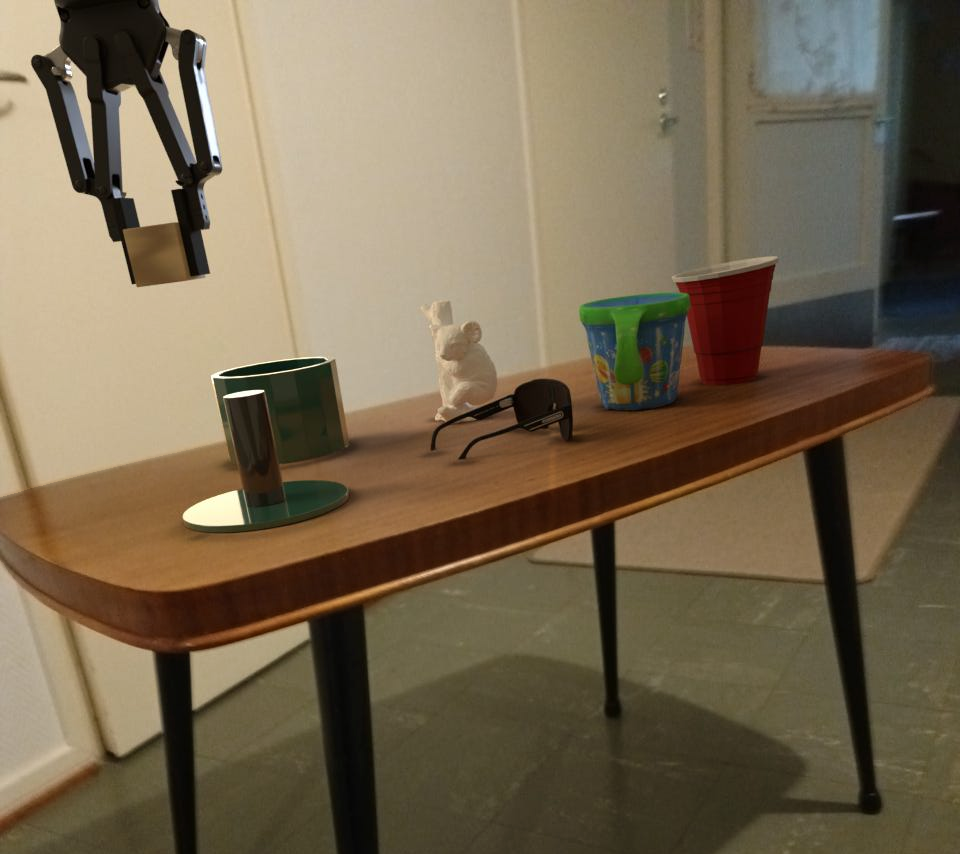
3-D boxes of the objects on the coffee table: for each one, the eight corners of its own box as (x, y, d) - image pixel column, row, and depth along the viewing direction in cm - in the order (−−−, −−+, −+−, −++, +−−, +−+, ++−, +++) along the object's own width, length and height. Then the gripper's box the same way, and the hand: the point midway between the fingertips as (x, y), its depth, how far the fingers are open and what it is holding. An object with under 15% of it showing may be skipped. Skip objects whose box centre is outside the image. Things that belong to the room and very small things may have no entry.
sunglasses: (595, 439, 85) (584, 382, 83) (475, 486, 81) (461, 427, 79) (534, 426, 94) (523, 374, 92) (424, 467, 90) (410, 414, 88)
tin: (215, 476, 90) (194, 382, 87) (250, 450, 101) (233, 365, 98) (335, 464, 89) (319, 368, 86) (359, 439, 99) (345, 352, 96)
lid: (160, 547, 69) (127, 418, 66) (216, 501, 81) (191, 389, 77) (331, 531, 68) (307, 398, 64) (364, 487, 79) (344, 372, 76)
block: (136, 287, 80) (122, 229, 78) (157, 284, 84) (144, 229, 83) (187, 280, 80) (174, 222, 78) (206, 277, 84) (193, 222, 82)
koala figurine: (415, 423, 104) (398, 305, 99) (467, 411, 107) (453, 295, 103) (458, 430, 97) (442, 303, 93) (513, 417, 101) (500, 294, 96)
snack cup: (678, 419, 90) (674, 302, 86) (567, 424, 94) (558, 313, 90) (704, 388, 103) (701, 286, 99) (606, 394, 107) (599, 296, 103)
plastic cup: (665, 381, 111) (660, 268, 106) (760, 368, 111) (759, 255, 106) (689, 395, 100) (685, 271, 96) (794, 381, 101) (794, 257, 96)
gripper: (223, -60, 75) (284, 263, 84) (12, -22, 77) (93, 289, 86) (187, -88, 68) (258, 267, 77) (-43, -45, 71) (52, 295, 80)
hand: (171, 278), depth 82 cm, fingers closed on block, 4 cm apart
